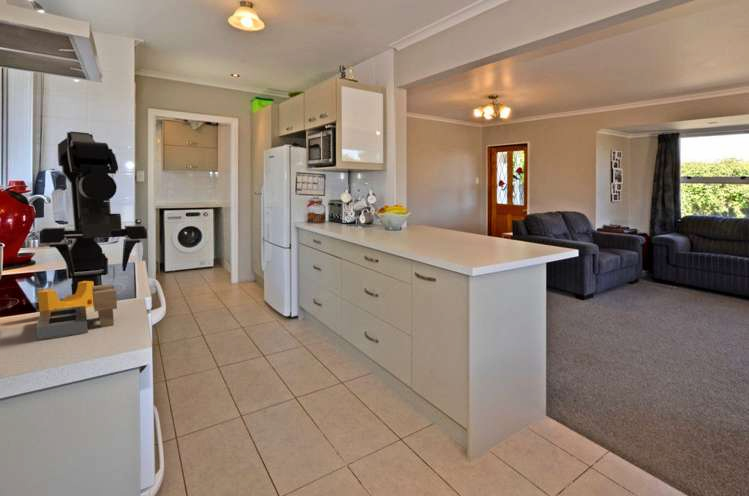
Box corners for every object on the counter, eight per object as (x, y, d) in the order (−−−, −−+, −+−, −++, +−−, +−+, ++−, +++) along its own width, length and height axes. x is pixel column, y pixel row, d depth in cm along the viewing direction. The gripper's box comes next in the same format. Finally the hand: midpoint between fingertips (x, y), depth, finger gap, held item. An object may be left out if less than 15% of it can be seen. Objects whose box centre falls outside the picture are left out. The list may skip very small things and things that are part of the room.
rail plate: (41, 322, 89) (40, 311, 89) (86, 316, 94) (85, 305, 94) (37, 340, 78) (36, 327, 78) (87, 332, 83) (86, 320, 83)
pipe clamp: (80, 305, 104) (78, 280, 103) (95, 306, 103) (93, 281, 103) (34, 318, 92) (31, 290, 92) (49, 319, 92) (47, 292, 91)
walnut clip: (94, 318, 93) (92, 286, 92) (115, 315, 95) (112, 284, 94) (96, 327, 86) (93, 293, 85) (118, 324, 88) (115, 290, 87)
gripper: (33, 201, 75) (41, 284, 76) (148, 201, 85) (152, 274, 87) (39, 201, 84) (45, 275, 85) (142, 201, 94) (146, 267, 96)
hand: (99, 273), depth 88 cm, fingers open, 9 cm apart
